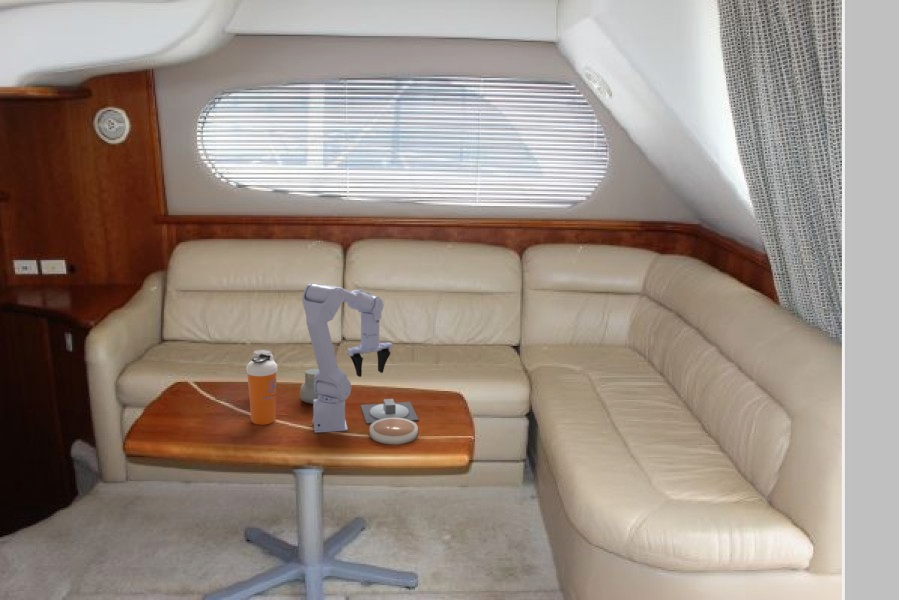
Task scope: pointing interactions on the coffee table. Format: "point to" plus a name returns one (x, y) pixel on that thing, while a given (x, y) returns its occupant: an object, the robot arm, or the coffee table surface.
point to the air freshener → (308, 387)
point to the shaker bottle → (262, 389)
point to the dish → (393, 430)
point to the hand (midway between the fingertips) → (369, 373)
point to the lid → (389, 410)
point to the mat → (411, 415)
